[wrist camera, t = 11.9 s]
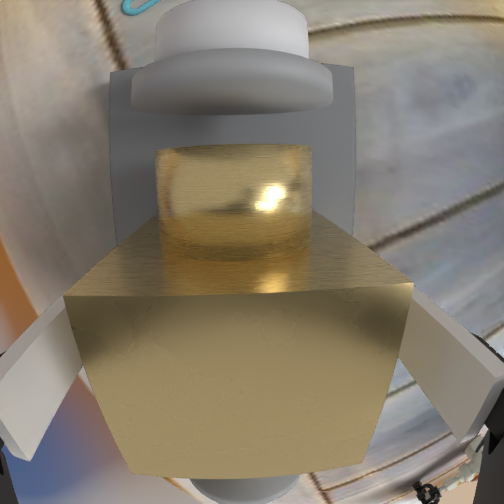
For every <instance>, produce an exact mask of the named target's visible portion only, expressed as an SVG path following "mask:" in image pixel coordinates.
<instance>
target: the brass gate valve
mask: <svg viewBox="0 0 504 504" xmlns="http://www.w3.org/2000/svg"><path fill="white" fill-rule="evenodd" d="M155 168H156V187H157V203H158V216H159V217H152V218H150V219H149V220H148V221H147V222H145V223H144V224H143V225H142V226H141V227H139V228H138V229H137V230H136V231H135V232H133V233H132V234H131V235H130V236H129V237H127V238H126V239H125V240H124V241H123V242H121V243H120V244H119V245H118V246H117V247H116V248H114V249H113V250H112V251H111V252H110V253H109V254H107V255H106V256H105V257H104V258H103V259H102V260H101V261H100V262H98V263H97V264H96V265H95V266H94V267H93V268H92V269H91V270H89V271H88V272H87V273H86V274H85V275H84V276H83V277H82V278H81V279H80V280H78V281H77V282H76V283H75V284H74V285H73V286H72V287H71V288H70V289H69V290H68V291H67V292H66V293H65V294H64V295H63V299H64V303H65V307H66V310H67V314H68V318H69V321H70V325H71V328H72V332H73V335H74V338H75V341H76V345H77V348H78V351H79V354H80V357H81V360H82V363H83V366H84V368H85V371H86V374H87V377H88V379H89V382H90V385H91V387H92V390H93V392H94V395H95V397H96V400H97V402H98V404H99V407H100V409H101V411H102V414H103V416H104V418H105V420H106V423H107V425H108V427H109V429H110V431H111V433H112V435H113V438H114V440H115V442H116V444H117V446H118V448H119V450H120V451H121V454H122V456H123V458H124V459H125V461H126V463H127V465H128V467H129V469H130V470H131V472H132V473H133V474H142V475H150V476H160V477H172V478H189V479H246V478H263V477H276V476H286V475H295V474H302V473H310V472H316V471H323V470H328V469H334V468H339V467H344V466H349V465H354V464H359V463H362V461H363V458H364V456H365V453H366V451H367V448H368V446H369V443H370V441H371V438H372V436H373V433H374V430H375V428H376V425H377V422H378V419H379V417H380V414H381V411H382V408H383V405H384V402H385V399H386V396H387V392H388V389H389V386H390V383H391V379H392V376H393V373H394V369H395V365H396V362H397V358H398V354H399V351H400V347H401V343H402V338H403V334H404V330H405V326H406V321H407V317H408V312H409V307H410V302H411V297H412V291H413V286H414V282H413V281H411V280H410V279H409V278H407V277H406V276H405V275H404V274H402V273H401V272H400V271H398V270H397V269H396V268H394V267H393V266H392V265H390V264H389V263H388V262H386V261H385V260H384V259H382V258H381V257H380V256H378V255H377V254H376V253H374V252H373V251H372V250H370V249H369V248H368V247H366V246H365V245H364V244H362V243H361V242H359V241H358V240H357V239H355V238H354V237H352V236H351V235H350V234H348V233H347V232H345V231H344V230H343V229H341V228H340V227H338V226H337V225H336V224H334V223H333V222H331V221H330V220H328V219H327V218H325V217H324V216H323V215H321V214H320V213H318V212H312V146H307V145H295V144H261V143H254V144H216V145H199V146H187V147H177V148H168V149H161V150H156V151H155Z"/></svg>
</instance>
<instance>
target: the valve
mask: <svg viewBox="0 0 504 504" xmlns="http://www.w3.org/2000/svg"><path fill="white" fill-rule="evenodd" d="M484 436H485V434H480V435H479V436H478V437H476V438H475V439H474V440H473V441H471V442H470V443H469V444H468V446H467V447H466V449H465V451H464V452H465V454H466V455H467V457H468V458H469V459H471V461H470V462H468V463H467V464H466V463H464V464H462V465H461V466H459V469H460V471H458V472H457V473H456V474H457V475H456V476H455V477H452V476H451V477H450V478H448V479H447V480H445V481H444V485H442V486H441V487H439V488H437V486H435V487H433V485H431V484H425V485H423V486H421V485H422V483H421V481H418V482H416V483H415V484H414V485H413V488H414V490H415V491H417V498H418V499H419V501H421V502H422V504H438V502H439V500H440V497H441V496H442V495H441V493H442V492H444V491H446V490H447V489H448V491H450V490H452V489H453V488H455V487H456V486H457V483H458V482H464V481H465V480H466V481H467V482H469V481H471V480H472V479H474V475H476V474H477V473H479V472H480V466H481V460H482V454H481V453H482V451H483V446H484V445H483V446H482V447H481V448H480V450H479V451H478V453H476V452H475V450H476V448H477V446H478V445H479V443H480V442H481V440H482V439H483V437H484ZM425 488H430V490H428V491H426V489H425Z"/></svg>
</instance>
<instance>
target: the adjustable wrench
mask: <svg viewBox="0 0 504 504" xmlns="http://www.w3.org/2000/svg"><path fill="white" fill-rule="evenodd" d="M131 1H133V0H124V2H123V4H122V10H123V12H124V13H125V14H127V15H137V14H140V13H142V12H143V11H145V10H146V9H148V8H149V7H151V6H153V5H154V4H156V3H157V2H159V1H161V0H150V1H148V2H147V3H145V4H144V5H142V6H141V7H139V8H137V9H131V8H130V3H131Z"/></svg>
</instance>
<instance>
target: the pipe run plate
mask: <svg viewBox="0 0 504 504" xmlns="http://www.w3.org/2000/svg"><path fill="white" fill-rule="evenodd" d="M254 143H261V144H295V145H307V146H312V212H318V213H320V214H321V215H323V216H324V217H325V218H327V219H328V220H330V221H331V222H333V223H334V224H336V225H337V226H338V227H340V228H341V229H343V230H344V231H345V232H347V233H348V234H350V235H351V236H353V220H354V201H355V170H356V115H355V86H354V68H353V67H348V66H340V65H332V64H323V63H318V62H316V61H313V60H311V59H309V42H308V25H307V20H306V18H305V17H304V15H303V14H302V13H301V12H299V11H298V10H297V9H295V8H294V7H292V6H290V5H288V4H285V3H283V2H280V1H277V0H192V1H188V2H185V3H183V4H181V5H178V6H176V7H174V8H173V9H171V10H169V11H168V12H166V13H165V14H164V15H163V16H162V17H161V18H160V19H159V21H158V23H157V26H156V41H155V62H153V63H151V64H149V65H147V66H145V67H140V68H133V69H127V70H121V71H116V72H110V94H109V145H110V170H111V187H112V200H113V211H114V221H115V230H116V239H117V246H118V245H119V244H120V243H121V242H123V241H124V240H125V239H126V238H127V237H129V236H130V235H131V234H132V233H133V232H135V231H136V230H137V229H138V228H139V227H141V226H142V225H143V224H144V223H145V222H147V221H148V220H149V219H150V218H152V217H159V216H158V203H157V187H156V168H155V151H156V150H161V149H168V148H177V147H187V146H199V145H216V144H254ZM300 475H301V474H295V475H286V476H276V477H263V478H246V479H190V480H191V482H192V484H193V485H194V486H195V487H196V488H197V489H198V490H199V491H200V492H201V493H202V494H204V495H205V496H206V497H208V498H210V499H212V500H214V501H216V502H217V503H219V504H271V503H273V502H274V501H275V500H277V499H278V498H280V497H281V496H283V495H284V494H286V493H287V492H288V491H289V490H290V489H292V487H293V486H294V485H295V484H296V482H297V481H298V479H299V477H300Z"/></svg>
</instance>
